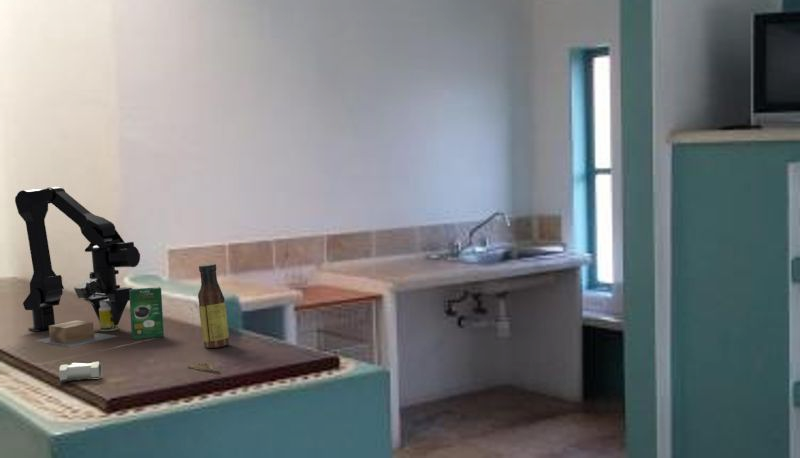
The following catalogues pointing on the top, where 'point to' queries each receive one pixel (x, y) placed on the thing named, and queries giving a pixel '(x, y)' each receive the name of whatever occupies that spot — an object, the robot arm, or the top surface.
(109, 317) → the supplement bottle
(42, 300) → the robot arm
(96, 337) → the build mat
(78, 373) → the pipe fitting
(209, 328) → the sauce bottle
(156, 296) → the coffee box
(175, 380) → the top surface
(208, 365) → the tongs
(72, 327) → the base block
